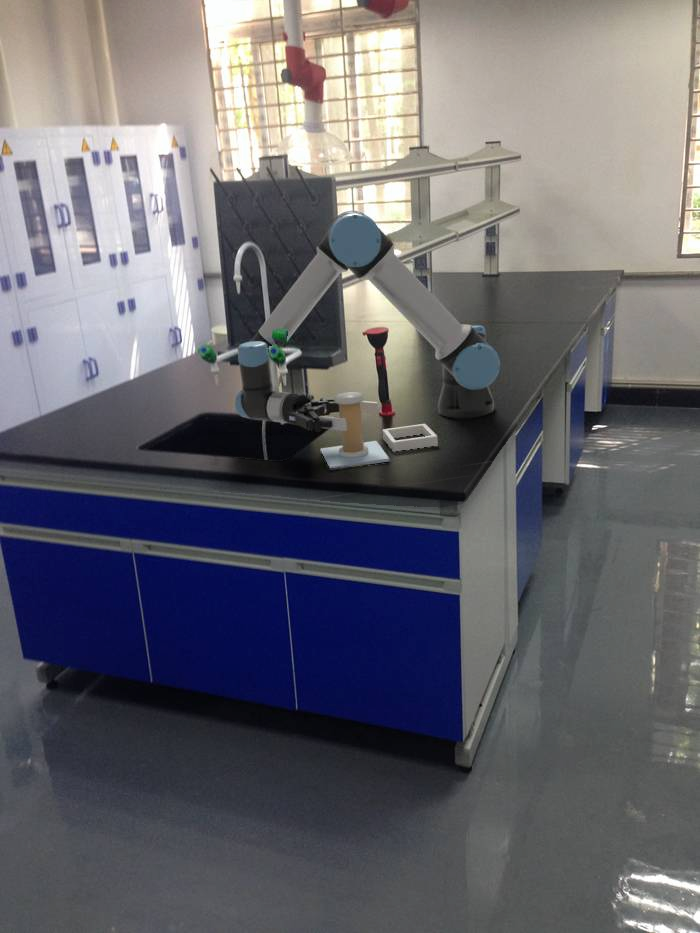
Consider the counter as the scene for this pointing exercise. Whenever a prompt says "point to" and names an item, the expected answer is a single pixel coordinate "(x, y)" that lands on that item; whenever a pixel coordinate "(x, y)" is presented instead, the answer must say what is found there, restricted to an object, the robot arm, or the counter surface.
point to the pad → (336, 460)
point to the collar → (411, 443)
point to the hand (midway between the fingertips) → (362, 416)
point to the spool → (351, 424)
